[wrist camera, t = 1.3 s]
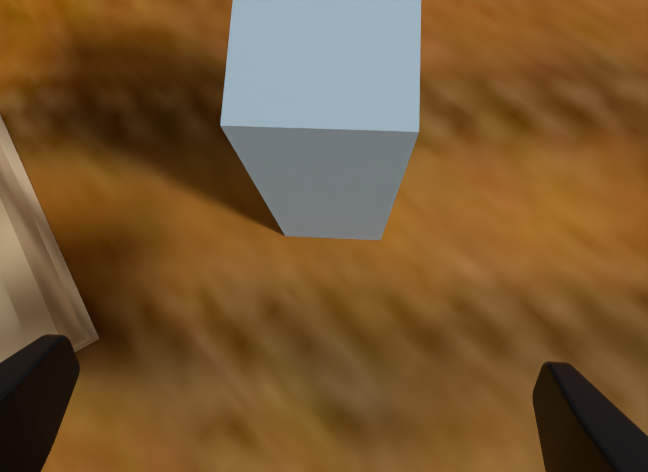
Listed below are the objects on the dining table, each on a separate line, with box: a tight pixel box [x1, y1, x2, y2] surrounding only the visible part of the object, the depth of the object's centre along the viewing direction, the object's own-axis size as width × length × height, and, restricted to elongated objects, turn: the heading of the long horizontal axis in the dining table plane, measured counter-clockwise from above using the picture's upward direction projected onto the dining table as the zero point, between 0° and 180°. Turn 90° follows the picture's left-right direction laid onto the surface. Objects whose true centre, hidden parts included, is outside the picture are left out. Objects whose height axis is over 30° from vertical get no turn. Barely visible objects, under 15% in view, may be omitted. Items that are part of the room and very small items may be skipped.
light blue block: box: [220, 0, 421, 240], centre depth 18 cm, size 5×4×12 cm
